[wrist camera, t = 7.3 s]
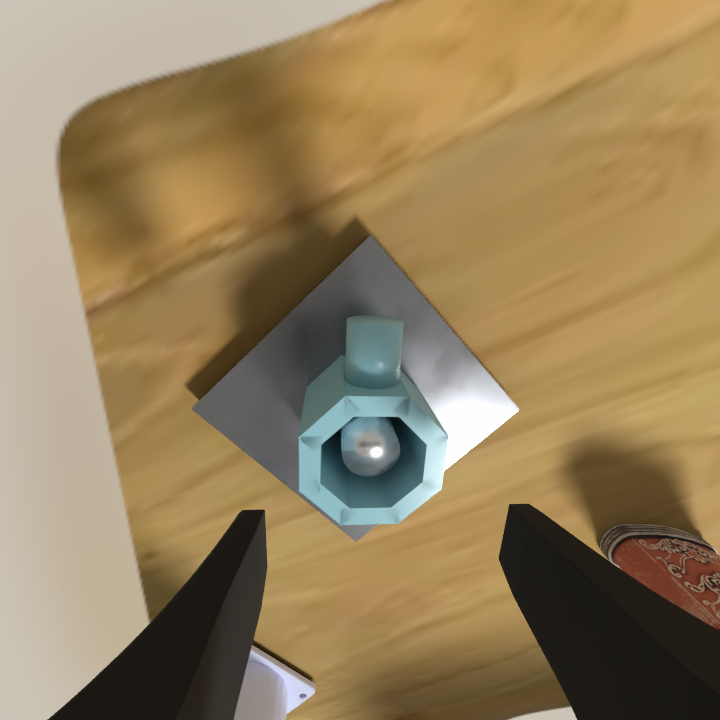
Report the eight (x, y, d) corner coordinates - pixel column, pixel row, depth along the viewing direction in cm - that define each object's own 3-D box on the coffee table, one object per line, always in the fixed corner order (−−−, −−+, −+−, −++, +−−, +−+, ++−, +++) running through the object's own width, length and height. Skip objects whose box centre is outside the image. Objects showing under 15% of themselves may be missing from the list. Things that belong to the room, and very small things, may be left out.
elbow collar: (411, 455, 19) (437, 523, 15) (306, 456, 19) (298, 526, 14) (425, 309, 17) (462, 332, 12) (306, 305, 17) (297, 328, 12)
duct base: (354, 528, 22) (361, 607, 17) (198, 400, 19) (153, 453, 14) (510, 402, 20) (567, 450, 15) (368, 235, 17) (383, 230, 12)
